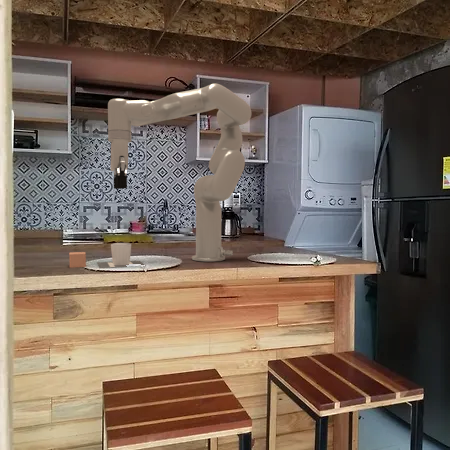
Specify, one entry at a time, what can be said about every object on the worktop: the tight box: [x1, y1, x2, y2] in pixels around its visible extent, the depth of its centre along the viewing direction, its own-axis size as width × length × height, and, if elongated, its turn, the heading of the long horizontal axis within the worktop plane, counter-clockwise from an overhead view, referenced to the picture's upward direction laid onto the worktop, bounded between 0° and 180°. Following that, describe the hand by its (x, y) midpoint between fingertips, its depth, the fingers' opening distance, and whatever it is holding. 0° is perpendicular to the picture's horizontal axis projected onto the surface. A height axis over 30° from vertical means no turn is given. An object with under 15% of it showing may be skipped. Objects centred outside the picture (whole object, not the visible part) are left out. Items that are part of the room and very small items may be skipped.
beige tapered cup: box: [110, 242, 132, 265], centre depth 153 cm, size 7×7×7 cm
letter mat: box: [96, 260, 145, 269], centre depth 153 cm, size 15×14×1 cm
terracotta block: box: [68, 251, 87, 269], centre depth 148 cm, size 5×5×5 cm
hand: (120, 188), depth 152 cm, fingers open, 9 cm apart
